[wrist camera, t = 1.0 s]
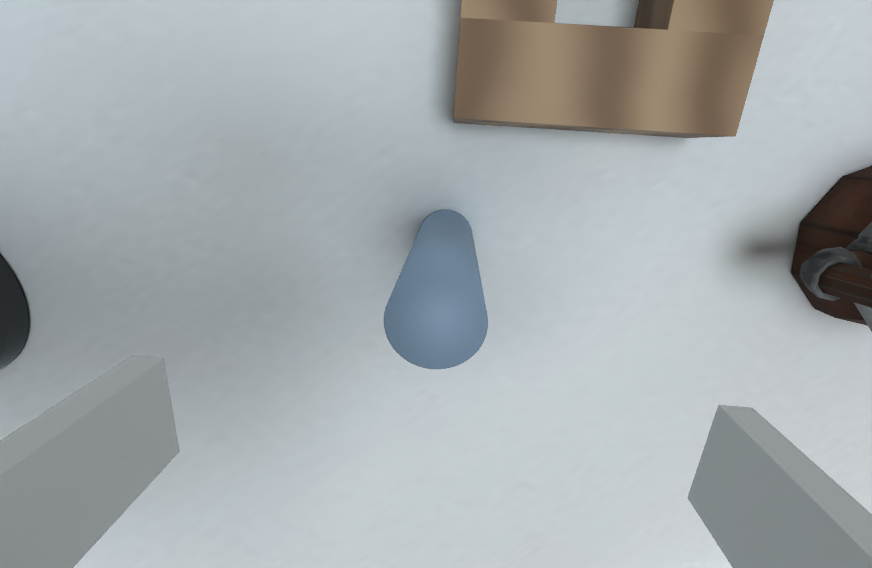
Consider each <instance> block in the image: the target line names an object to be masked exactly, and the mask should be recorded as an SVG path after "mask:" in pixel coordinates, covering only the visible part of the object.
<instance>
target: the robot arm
mask: <svg viewBox="0 0 872 568" xmlns="http://www.w3.org/2000/svg"><path fill="white" fill-rule="evenodd" d="M27 334H28V311H27V306H26V302H25V299H24V295H23V293H22V290H21V288H20V286H19V284H18V282H17V280H16V278H15V276H14V275H13V273H12V271H11V270H10V268H9V267H8V265H7V264H6V263H5V261H4V260H3V259H2V258H1V256H0V369H1V368H3V367H5V366H6V365H8V364H9V363H11V362H12V361H13V360H14V359H15V358H16V357H17V356H18V355H19V353H20V352H21V350H22V348H23V346H24V344H25V342H26V338H27ZM179 452H180V451H179V445H178V440H177V434H176V428H175V422H174V416H173V410H172V404H171V398H170V392H169V386H168V381H167V375H166V369H165V363H164V358H154V357H142V356H132V357H130V358H128V359H127V360H125V361H124V362H122V363H121V364H119V365H118V366H116V367H114V368H113V369H111V370H110V371H108V372H107V373H105V374H103V375H102V376H100V377H99V378H97V379H96V380H94V381H93V382H91V383H89V384H88V385H86V386H85V387H83V388H82V389H80V390H79V391H77V392H75V393H74V394H72V395H71V396H69V397H68V398H66V399H64V400H63V401H61V402H60V403H58V404H57V405H55V406H54V407H52V408H50V409H49V410H47V411H46V412H44V413H43V414H41V415H40V416H38V417H36V418H35V419H33V420H32V421H30V422H29V423H27V424H25V425H24V426H22V427H21V428H19V429H18V430H16V431H15V432H13V433H11V434H10V435H8V436H7V437H5V438H4V439H2V440H1V441H0V568H73V567H74V566H75V565H76V564H77V563H78V562H79V561H80V560H81V558H82V557H83V556H84V555H85V554H86V553H87V552H88V551H89V550H90V549H91V548H92V546H93V545H94V544H95V543H96V542H97V541H98V540H99V539H100V538H101V537H102V536H103V534H104V533H105V532H106V531H107V530H108V529H109V528H110V527H111V526H112V525H113V524H114V522H115V521H116V520H117V519H118V518H119V517H120V516H121V515H122V514H123V513H124V512H125V510H126V509H127V508H128V507H129V506H130V505H131V504H132V503H133V502H134V501H135V500H136V498H137V497H138V496H139V495H140V494H141V493H142V492H143V491H144V490H145V489H146V488H147V486H148V485H149V484H150V483H151V482H152V481H153V480H154V479H155V478H156V477H157V476H158V474H159V473H160V472H161V471H162V470H163V469H164V468H165V467H166V466H167V465H168V464H169V462H170V461H171V460H172V459H173V458H174V457H175V456H176V455H177V454H178V453H179ZM688 499H689V501H690V502H691V504H692V505H693V507H694V509H695V510H696V512H697V513H698V515H699V516H700V518H701V519H702V521H703V522H704V524H705V526H706V527H707V529H708V530H709V532H710V533H711V535H712V536H713V538H714V539H715V541H716V542H717V544H718V546H719V547H720V549H721V550H722V552H723V553H724V555H725V556H726V558H727V559H728V561H729V562H730V564H731V566H732V567H733V568H872V514H871V513H870V512H869V511H867V510H866V509H865V508H864V507H863V506H862V505H861V504H860V503H858V502H857V501H856V500H855V499H854V498H853V497H852V496H851V495H850V494H848V493H847V492H846V491H845V490H844V489H843V488H842V487H841V486H839V485H838V484H837V483H836V482H835V481H834V480H833V479H832V478H830V477H829V476H828V475H827V474H826V473H825V472H824V471H823V470H821V469H820V468H819V467H818V466H817V465H816V464H815V463H814V462H813V461H811V460H810V459H809V458H808V457H807V456H806V455H805V454H804V453H802V452H801V451H800V450H799V449H798V448H797V447H796V446H795V445H793V444H792V443H791V442H790V441H789V440H788V439H787V438H786V437H784V436H783V435H782V434H781V433H780V432H779V431H778V430H777V429H776V428H774V427H773V426H772V425H771V424H770V423H769V422H768V421H767V420H765V419H764V418H763V417H762V416H761V415H760V414H759V413H758V412H756V411H755V410H754V409H753V408H749V407H737V406H725V405H718V408H717V411H716V414H715V417H714V420H713V423H712V426H711V429H710V432H709V435H708V438H707V441H706V444H705V447H704V450H703V453H702V456H701V459H700V462H699V465H698V468H697V471H696V474H695V477H694V480H693V483H692V486H691V489H690V492H689V495H688Z"/></svg>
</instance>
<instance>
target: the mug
mask: <svg viewBox="0 0 872 568" xmlns="http://www.w3.org/2000/svg"><path fill="white" fill-rule="evenodd" d="M792 274H793V275H794V277H795V278H796V280H797V281H798V283H799V285H800V286H801V288H802V289H803V291H804V292H805V294H806V295H807V297H808V299H809V300H810V302H811V303H812V305H813V306H814V308H815V309H817V310H819V311H821V312H824V313H826V314H828V315H830V316H833V317H835V318H839V319H843V320H847V321H852V322H856V323H860V324H864V325H868V326H869V328H870V330H871V331H872V166H871V167H868V168H866V169H863V170H860V171H857V172H855V173H852V174H849V175H847V176H844V177H843V178H842V179H841V180H840V181H839V182H838V183H837V184H836V185H835V186H834V187H833V189H832V190H831V191H830V192H829V193H828V194H827V195H826V196H825V197H824V198H823V200H822V201H821V202H820V203H819V204H818V205H817V206H816V207H815V208H814V209H813V210H812V212H811V213H810V214H809V215H808V216H807V217H806V218H805V219H804V220H803V221H802V223H801V227H800V232H799V238H798V243H797V248H796V253H795V259H794V264H793V269H792Z"/></svg>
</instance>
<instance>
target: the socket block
mask: <svg viewBox="0 0 872 568" xmlns="http://www.w3.org/2000/svg"><path fill="white" fill-rule="evenodd" d="M773 1H774V0H639V6H638V11H637V16H636V21H635V27H634V28H628V27H611V26H594V25H577V24H560V23H554V20H555V13H556V5H557V0H462V2H461V16H460V31H459V45H458V59H457V73H456V87H455V101H454V115H453V120H454V123H468V124H483V125H499V126H514V127H530V128H545V129H560V130H576V131H591V132H607V133H622V134H637V135H653V136H668V137H684V138H697V137H726V136H736V133H737V129H738V126H739V122H740V119H741V115H742V111H743V108H744V104H745V101H746V97H747V94H748V90H749V86H750V83H751V79H752V76H753V72H754V69H755V65H756V61H757V58H758V54H759V51H760V47H761V44H762V40H763V37H764V33H765V29H766V26H767V22H768V19H769V15H770V12H771V8H772V4H773Z"/></svg>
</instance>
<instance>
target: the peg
mask: <svg viewBox="0 0 872 568" xmlns="http://www.w3.org/2000/svg"><path fill="white" fill-rule="evenodd" d="M384 328H385V332H386V335H387V338H388V340H389V342H390V344H391V345H392V347H393V348H394V350H395V351H396V352H397V353H398V354H399V355H400V356H401V357H403V358H404V359H405V360H407V361H408V362H410V363H412V364H414V365H417V366H420V367H423V368H428V369H446V368H451V367H454V366H457V365H459V364H461V363H463V362H465V361H467V360H468V359H469V358H471V357H472V356H473V355H474V354H475V353H476V352H477V351H478V350H479V348H480V347H481V345H482V343H483V341H484V339H485V336H486V333H487V328H488V318H487V311H486V305H485V300H484V295H483V289H482V284H481V278H480V273H479V267H478V262H477V256H476V251H475V246H474V240H473V235H472V230H471V227H470V224H469V222H468V221H467V220H466V218H465V217H464V216H462V215H461V214H459V213H458V212H455V211H452V210H439V211H436V212H434V213H432V214H430V215H429V216H428V217H427V218H426V219H425V220H424V221H423V223H422V225H421V227H420V230H419V232H418V234H417V237H416V239H415V241H414V243H413V246H412V248H411V250H410V253H409V255H408V257H407V259H406V262H405V264H404V266H403V269H402V271H401V273H400V275H399V278H398V280H397V282H396V285H395V287H394V289H393V291H392V294H391V296H390V298H389V301H388V303H387V306H386V309H385V313H384Z"/></svg>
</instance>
